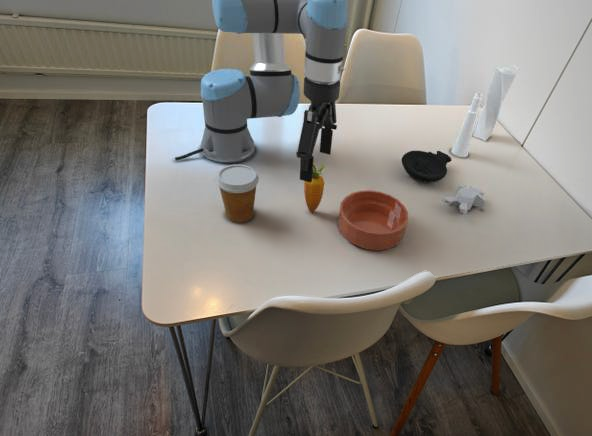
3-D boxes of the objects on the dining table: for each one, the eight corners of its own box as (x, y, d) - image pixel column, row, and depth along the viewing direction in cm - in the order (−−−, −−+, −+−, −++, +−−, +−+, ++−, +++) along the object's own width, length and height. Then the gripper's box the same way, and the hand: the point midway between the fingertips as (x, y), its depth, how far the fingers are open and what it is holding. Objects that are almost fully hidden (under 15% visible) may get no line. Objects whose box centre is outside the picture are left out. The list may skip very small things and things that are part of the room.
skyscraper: (494, 137, 158) (522, 65, 140) (488, 143, 152) (516, 70, 135) (475, 129, 160) (500, 58, 143) (469, 135, 155) (494, 63, 137)
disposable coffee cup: (239, 232, 95) (237, 191, 88) (211, 215, 98) (206, 174, 91) (267, 213, 102) (267, 174, 95) (240, 198, 105) (237, 158, 98)
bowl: (346, 255, 95) (349, 236, 91) (331, 209, 107) (333, 191, 103) (413, 248, 100) (418, 231, 96) (391, 206, 112) (395, 189, 109)
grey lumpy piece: (494, 193, 118) (471, 207, 108) (487, 207, 121) (464, 222, 111) (467, 178, 123) (442, 190, 112) (461, 192, 125) (436, 205, 115)
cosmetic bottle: (461, 148, 146) (480, 89, 132) (471, 156, 142) (492, 97, 128) (447, 149, 144) (466, 90, 130) (457, 158, 140) (477, 98, 126)
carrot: (322, 208, 107) (327, 160, 98) (319, 220, 103) (324, 171, 94) (304, 205, 107) (307, 157, 98) (300, 216, 103) (303, 167, 94)
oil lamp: (462, 176, 131) (467, 163, 128) (423, 194, 119) (427, 180, 116) (429, 155, 138) (432, 142, 135) (389, 170, 127) (392, 156, 124)
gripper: (319, 104, 73) (312, 198, 86) (355, 65, 92) (345, 146, 105) (281, 94, 73) (280, 189, 86) (324, 57, 93) (318, 139, 106)
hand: (315, 166), depth 96 cm, fingers open, 13 cm apart
